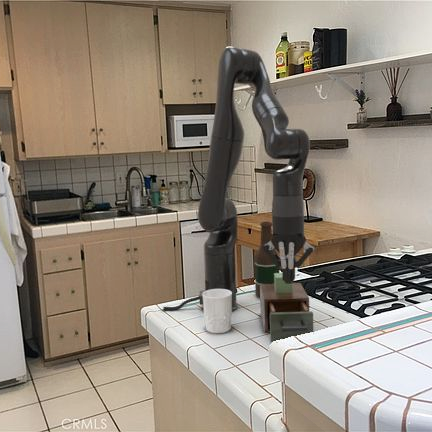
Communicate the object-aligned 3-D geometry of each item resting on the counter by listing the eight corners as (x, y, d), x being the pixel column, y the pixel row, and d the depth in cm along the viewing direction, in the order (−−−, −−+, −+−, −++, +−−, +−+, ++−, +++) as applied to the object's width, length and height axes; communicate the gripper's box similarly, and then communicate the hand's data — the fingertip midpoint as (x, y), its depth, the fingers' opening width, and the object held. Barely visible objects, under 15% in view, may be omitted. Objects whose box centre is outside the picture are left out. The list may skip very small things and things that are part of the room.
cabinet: (309, 331, 131) (309, 298, 130) (265, 332, 132) (264, 299, 130) (300, 313, 145) (300, 282, 143) (260, 314, 145) (259, 284, 144)
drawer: (317, 349, 118) (317, 320, 117) (273, 351, 118) (272, 321, 117) (304, 322, 135) (304, 296, 134) (265, 323, 135) (265, 297, 134)
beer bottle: (284, 295, 161) (283, 222, 157) (266, 301, 157) (265, 225, 153) (268, 290, 167) (267, 219, 163) (250, 295, 163) (248, 222, 159)
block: (276, 293, 135) (275, 277, 134) (274, 288, 139) (273, 273, 138) (292, 293, 134) (292, 277, 134) (290, 288, 139) (290, 272, 138)
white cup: (199, 326, 138) (197, 291, 136) (225, 321, 141) (224, 287, 139) (210, 336, 130) (209, 299, 129) (238, 330, 134) (236, 294, 132)
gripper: (318, 211, 122) (318, 280, 124) (265, 210, 127) (267, 276, 129) (312, 216, 115) (312, 289, 117) (256, 214, 120) (258, 284, 123)
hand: (288, 282), depth 123 cm, fingers closed
